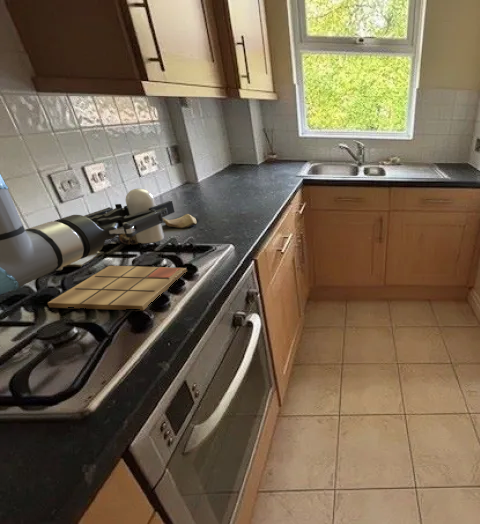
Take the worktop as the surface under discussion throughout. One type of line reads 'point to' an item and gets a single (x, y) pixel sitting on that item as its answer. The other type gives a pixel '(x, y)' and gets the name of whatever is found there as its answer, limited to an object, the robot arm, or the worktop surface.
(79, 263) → the ceramic fragment
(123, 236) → the bread roll
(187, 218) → the pottery shard
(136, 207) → the white domed cylinder
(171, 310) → the worktop surface
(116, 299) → the game board
